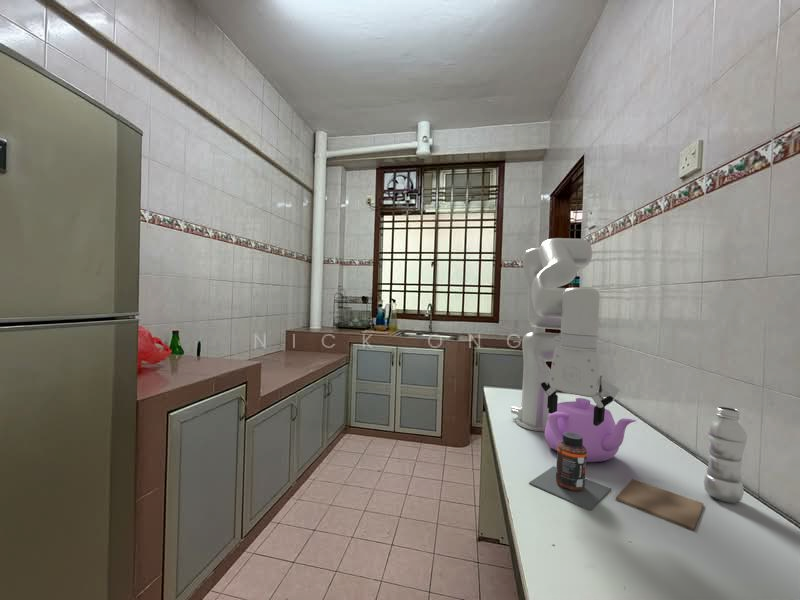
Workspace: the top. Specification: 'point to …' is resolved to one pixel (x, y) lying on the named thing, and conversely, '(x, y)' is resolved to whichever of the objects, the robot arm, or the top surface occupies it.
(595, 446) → the teapot
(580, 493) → the dot mat
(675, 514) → the walnut board
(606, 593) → the top surface
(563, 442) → the supplement bottle
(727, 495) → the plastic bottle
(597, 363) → the robot arm
